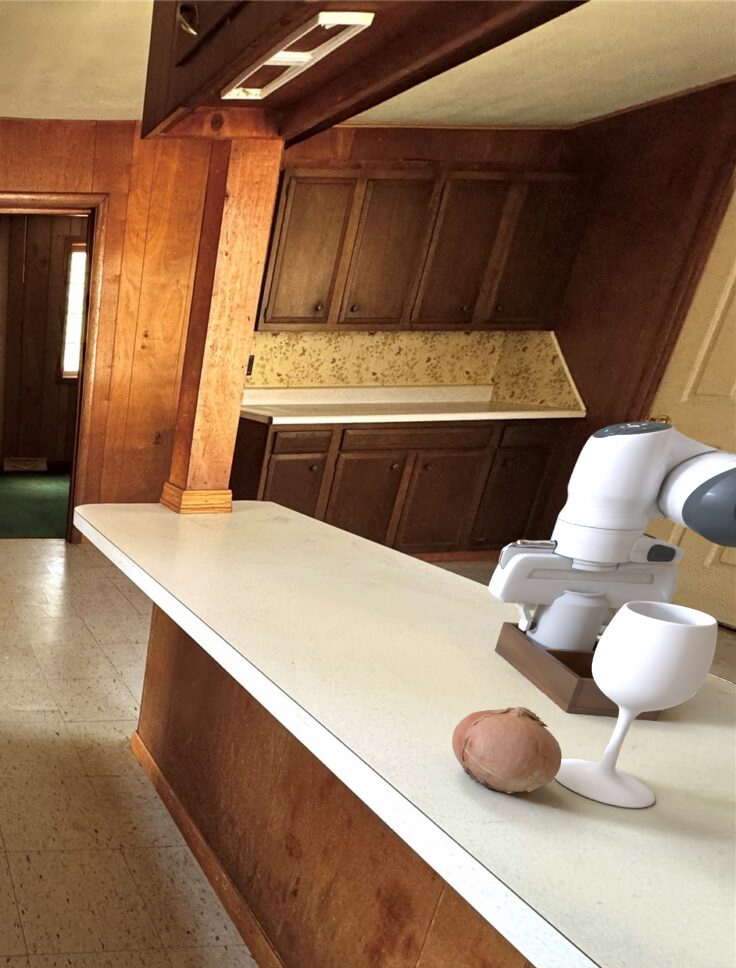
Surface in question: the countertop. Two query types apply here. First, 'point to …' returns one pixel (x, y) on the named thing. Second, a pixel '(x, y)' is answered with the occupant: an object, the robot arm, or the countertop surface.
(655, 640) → the wineglass
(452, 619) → the countertop surface
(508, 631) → the wooden compartment tray
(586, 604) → the can
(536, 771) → the onion
